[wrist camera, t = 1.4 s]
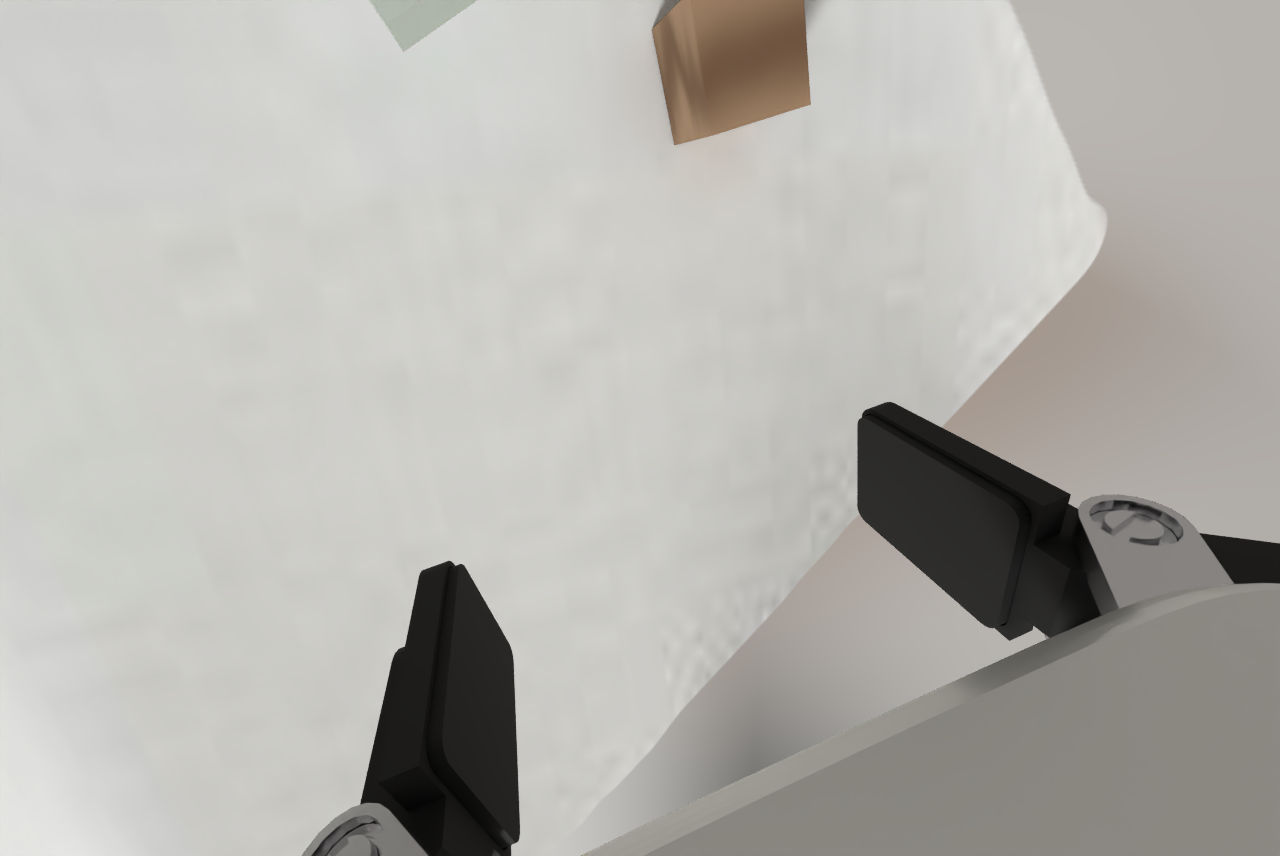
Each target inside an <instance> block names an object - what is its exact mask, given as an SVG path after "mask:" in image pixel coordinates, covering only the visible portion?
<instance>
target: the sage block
mask: <svg viewBox="0 0 1280 856" xmlns="http://www.w3.org/2000/svg"><path fill="white" fill-rule="evenodd" d="M369 1H370V2H371V4H372V5H373V7H374V8H375V10H376V11H377V13H378V14H379V16H380V17H381V19H382V20H383V22H384V23H385V25H386V26H387V28H388V29H389V31H390V32H391V34H392V35H393V37H394V38H395V40H396V41H397V43H398V44H399V46H400V47H401V49H402V50H403V52H404V51H406V50H407V49H408V48H410V47H411V46H413V45H414V44H416V43H417V42H418V41H420V40H421V39H423V38H424V37H426V36H427V35H428V34H430V33H431V32H433V31H434V30H436V29H437V28H438V27H440V26H441V25H443V24H444V23H446V22H447V21H448V20H450V19H451V18H453V17H454V16H456V15H457V14H458V13H460V12H461V11H463V10H464V9H466V8H467V7H468V6H470V5H471V4H473V3H474V2H476V1H477V0H369Z"/></svg>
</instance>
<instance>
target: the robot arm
mask: <svg viewBox="0 0 1280 856" xmlns="http://www.w3.org/2000/svg"><path fill="white" fill-rule="evenodd" d="M1069 498H1070V494H1069V493H1067V492H1065V491H1063V490H1061V489H1059V488H1057V487H1055V486H1053V485H1051V484H1050V483H1048V482H1046V481H1044V480H1042V479H1040V478H1038V477H1036V476H1034V475H1032V474H1030V473H1028V472H1026V471H1024V470H1022V469H1021V468H1019V467H1017V466H1014V465H1013V464H1011V463H1009V462H1007V461H1005V460H1003V459H1001V458H999V457H997V456H995V455H993V454H991V453H990V452H988V451H986V450H984V449H982V448H980V447H978V446H976V445H974V444H972V443H970V442H968V441H966V440H964V439H962V438H961V437H959V436H957V435H955V434H953V433H951V432H949V431H947V430H945V429H943V428H941V427H939V426H937V425H935V424H933V423H932V422H930V421H928V420H926V419H924V418H922V417H920V416H918V415H916V414H914V413H912V412H910V411H908V410H906V409H904V408H903V407H901V406H899V405H897V404H895V403H892V402H886V403H883V404H881V405H878V406H875V407H872V408H869V409H867V410H865V411H864V412H863V414H862V418H861V419H859V421H858V503H857V506H858V511H859V513H860V515H861V517H862V518H863V520H864V521H865V522H866V523H868V524H869V525H870V526H871V527H872V528H873V529H874V530H876V531H877V532H878V533H879V534H880V535H881V536H882V537H884V538H885V539H886V540H887V541H888V542H889V543H891V544H892V545H893V546H894V547H895V548H896V549H897V550H898V551H900V552H901V553H902V554H903V555H904V556H905V557H906V558H907V559H909V560H910V561H911V562H912V563H913V564H914V565H915V566H917V567H918V568H919V569H920V570H921V571H922V572H924V573H925V574H926V575H927V576H928V577H929V578H930V579H931V580H933V581H934V582H935V583H936V584H937V585H938V586H939V587H941V588H942V589H943V590H944V591H945V592H946V593H947V594H949V595H950V596H951V597H952V598H953V599H954V600H955V601H957V602H958V603H959V604H960V605H961V606H962V607H963V608H964V609H966V610H967V611H968V612H969V613H970V614H971V615H973V616H974V617H975V618H976V619H977V620H978V621H979V622H981V623H982V624H983V625H985V626H987V627H989V628H995V629H996V630H998V631H999V632H1000V633H1001V634H1002V635H1003V636H1004V637H1006V638H1007V639H1008V640H1009V641H1010V640H1012V639H1014V638H1017V637H1018V636H1021V635H1023V634H1025V633H1027V632H1029V631H1031V630H1032V629H1033V626H1035V627H1036V628H1038V629H1039V630H1040V631H1041V632H1043V633H1044V634H1045V637H1046V640H1044V641H1042V642H1040V643H1037V644H1035V645H1033V646H1031V647H1029V648H1026V649H1024V650H1022V651H1020V652H1018V653H1015V654H1013V655H1011V656H1009V657H1007V658H1004V659H1002V660H1000V661H998V662H996V663H993V664H991V665H989V666H987V667H984V668H982V669H980V670H978V671H976V672H974V673H971V674H969V675H967V676H965V677H963V678H960V679H958V680H956V681H954V682H951V683H949V684H947V685H945V686H943V687H940V688H938V689H936V690H934V691H932V692H929V693H928V694H925V695H923V696H921V697H919V698H917V699H914V700H912V701H910V702H908V703H906V704H903V705H901V706H899V707H897V708H895V709H892V710H890V711H888V712H886V713H884V714H882V715H879V716H877V717H875V718H873V719H871V720H869V721H866V722H864V723H862V724H860V725H858V726H855V727H853V728H851V729H849V730H847V731H845V732H842V733H840V734H838V735H836V736H834V737H832V738H830V739H827V740H825V741H823V742H821V743H819V744H817V745H814V746H812V747H810V748H808V749H806V750H804V751H801V752H799V753H797V754H795V755H793V756H791V757H788V758H786V759H784V760H782V761H780V762H777V763H775V764H773V765H771V766H769V767H767V768H765V769H762V770H760V771H759V772H756V773H754V774H752V775H750V776H747V777H745V778H743V779H741V780H739V781H737V782H735V783H733V784H730V785H728V786H726V787H724V788H722V789H720V790H718V791H715V792H713V793H711V794H709V795H707V796H705V797H703V798H700V799H699V800H696V801H694V802H692V803H690V804H688V805H685V806H683V807H681V808H679V809H677V810H675V811H673V812H671V813H668V814H666V815H664V816H662V817H660V818H658V819H656V820H653V821H652V822H649V823H647V824H645V825H643V826H641V827H638V828H636V829H634V830H632V831H630V832H628V833H626V834H624V835H622V836H620V837H618V838H616V839H614V840H612V841H610V842H608V843H606V844H604V845H602V846H600V847H598V848H596V849H594V850H592V851H589V852H587V853H585V854H583V855H581V856H1280V544H1279V543H1271V542H1263V541H1255V540H1248V539H1240V538H1232V537H1225V536H1216V535H1209V534H1201V533H1199V532H1198V531H1197V530H1196V528H1195V527H1194V526H1193V525H1192V524H1191V523H1190V522H1189V521H1188V520H1187V519H1186V518H1185V517H1184V516H1182V515H1181V514H1179V513H1177V512H1176V511H1174V510H1172V509H1170V508H1168V507H1166V506H1163V505H1161V504H1158V503H1156V502H1153V501H1149V500H1145V499H1142V498H1138V497H1132V496H1124V495H1101V496H1095V497H1091V498H1089V499H1087V500H1085V501H1083V502H1082V503H1081V505H1080V506H1079V508H1078V509H1077V508H1075V507H1073V506H1071V505H1069V504H1068V502H1069ZM519 836H520V818H519V792H518V766H517V740H516V714H515V688H514V662H513V654H512V650H511V647H510V645H509V643H508V641H507V639H506V637H505V636H504V634H503V632H502V630H501V629H500V627H499V625H498V623H497V622H496V620H495V618H494V616H493V615H492V613H491V611H490V609H489V608H488V606H487V604H486V602H485V601H484V599H483V597H482V596H481V594H480V592H479V590H478V589H477V587H476V585H475V583H474V582H473V580H472V578H471V576H470V575H469V573H468V571H467V569H466V568H465V566H464V565H463V564H459V565H457V566H455V565H454V563H452V562H451V561H447V562H444V563H442V564H439V565H436V566H433V567H430V568H428V569H425V570H423V571H421V573H420V575H419V580H418V585H417V590H416V595H415V600H414V605H413V610H412V615H411V620H410V625H409V630H408V635H407V640H406V645H405V647H403V648H400V649H398V651H397V652H396V653H395V655H394V658H393V660H392V664H391V669H390V673H389V678H388V682H387V687H386V691H385V696H384V700H383V705H382V709H381V714H380V718H379V722H378V727H377V731H376V736H375V740H374V745H373V749H372V754H371V758H370V763H369V767H368V772H367V776H366V781H365V785H364V790H363V794H362V799H361V803H360V805H358V806H355V807H352V808H350V809H349V810H347V811H345V812H344V813H342V814H341V815H339V816H338V817H336V818H335V819H334V820H333V821H331V822H330V823H329V824H328V825H327V826H326V827H325V828H324V829H323V830H322V831H321V832H320V833H319V834H318V835H317V836H316V838H315V839H314V840H313V841H312V843H311V844H310V845H309V846H308V848H307V849H306V850H305V852H304V853H303V855H302V856H511V845H512V844H514V843H516V842H518V840H519Z"/></svg>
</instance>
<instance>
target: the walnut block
mask: <svg viewBox="0 0 1280 856" xmlns="http://www.w3.org/2000/svg"><path fill="white" fill-rule="evenodd" d="M652 33H653V38H654V43H655V48H656V53H657V58H658V63H659V68H660V74H661V79H662V84H663V89H664V94H665V99H666V104H667V109H668V114H669V119H670V124H671V130H672V135H673V140H674V145H677V144H681V143H685V142H689V141H693V140H696V139H700V138H704V137H708V136H712V135H715V134H718V133H721V132H725V131H728V130H731V129H734V128H737V127H741V126H744V125H747V124H750V123H753V122H756V121H760V120H763V119H766V118H769V117H772V116H775V115H779V114H782V113H785V112H788V111H791V110H794V109H798V108H801V107H804V106H807V105H810V104H811V102H810V87H809V72H808V56H807V41H806V26H805V11H804V0H681V1H680V2H679V3H678V4H677V5H676V6H675V7H674V8H673V9H672V10H671V11H670V12H669V13H668V14H667V15H666V16H665V17H664V18H663V19H662V20H661V21H660V22H659V23H658V24H657V25H656V26H655V27H654V28H653V29H652Z"/></svg>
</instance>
